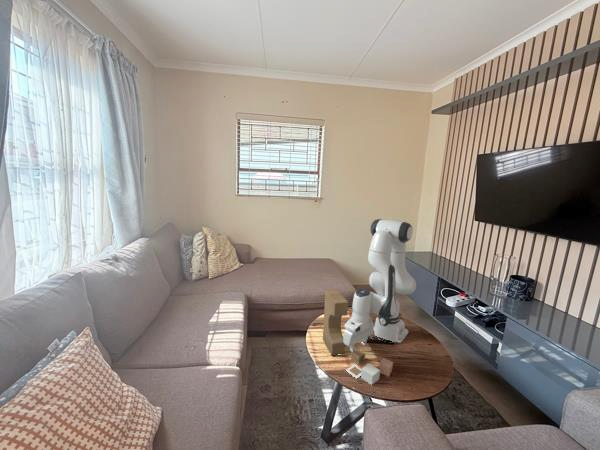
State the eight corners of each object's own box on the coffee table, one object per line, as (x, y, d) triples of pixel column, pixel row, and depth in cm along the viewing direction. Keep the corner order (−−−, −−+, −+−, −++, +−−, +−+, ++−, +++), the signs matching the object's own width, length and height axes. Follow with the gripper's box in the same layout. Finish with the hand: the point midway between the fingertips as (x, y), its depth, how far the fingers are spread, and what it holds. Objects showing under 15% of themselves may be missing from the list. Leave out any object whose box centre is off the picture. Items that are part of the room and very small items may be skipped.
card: (354, 364, 137) (354, 363, 137) (365, 372, 132) (365, 371, 132) (345, 371, 133) (345, 369, 133) (356, 379, 127) (356, 378, 127)
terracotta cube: (382, 366, 137) (382, 357, 136) (392, 371, 134) (393, 361, 133) (378, 372, 133) (379, 363, 132) (389, 376, 130) (390, 367, 129)
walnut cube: (356, 357, 143) (357, 348, 142) (364, 362, 140) (365, 353, 139) (350, 361, 140) (351, 352, 139) (358, 366, 136) (359, 357, 135)
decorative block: (344, 354, 145) (348, 302, 139) (331, 356, 143) (334, 303, 138) (334, 338, 159) (337, 290, 154) (322, 339, 157) (325, 290, 152)
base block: (368, 372, 133) (369, 363, 132) (379, 379, 128) (379, 370, 127) (360, 378, 129) (361, 368, 128) (371, 385, 124) (372, 375, 123)
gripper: (367, 313, 145) (365, 337, 147) (342, 325, 131) (340, 351, 134) (377, 318, 140) (375, 343, 142) (352, 331, 127) (350, 358, 129)
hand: (358, 347), depth 138 cm, fingers open, 8 cm apart
